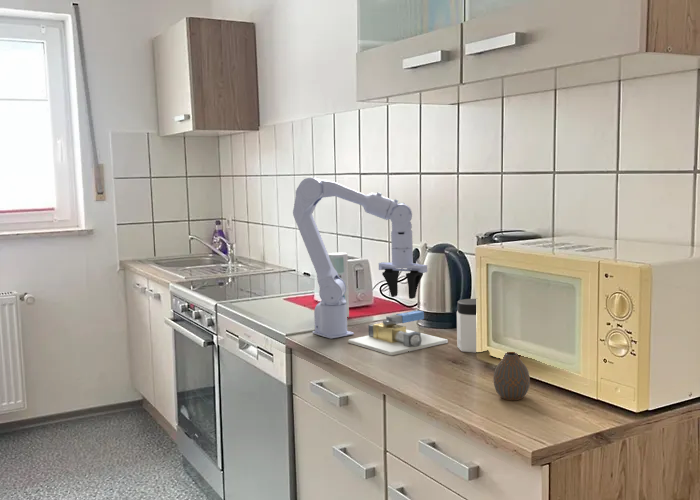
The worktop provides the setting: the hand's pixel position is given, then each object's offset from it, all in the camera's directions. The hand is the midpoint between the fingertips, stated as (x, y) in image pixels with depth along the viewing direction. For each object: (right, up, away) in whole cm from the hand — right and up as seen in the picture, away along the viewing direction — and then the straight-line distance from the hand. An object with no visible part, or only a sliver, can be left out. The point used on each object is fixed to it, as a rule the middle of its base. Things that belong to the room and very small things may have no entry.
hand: (403, 297), depth 190 cm
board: (-2, -11, -8) cm, 14 cm away
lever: (0, -6, -4) cm, 8 cm away
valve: (-3, -11, -8) cm, 14 cm away
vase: (+17, -16, -54) cm, 59 cm away
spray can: (-18, -8, +28) cm, 34 cm away
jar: (+17, -12, -16) cm, 26 cm away
